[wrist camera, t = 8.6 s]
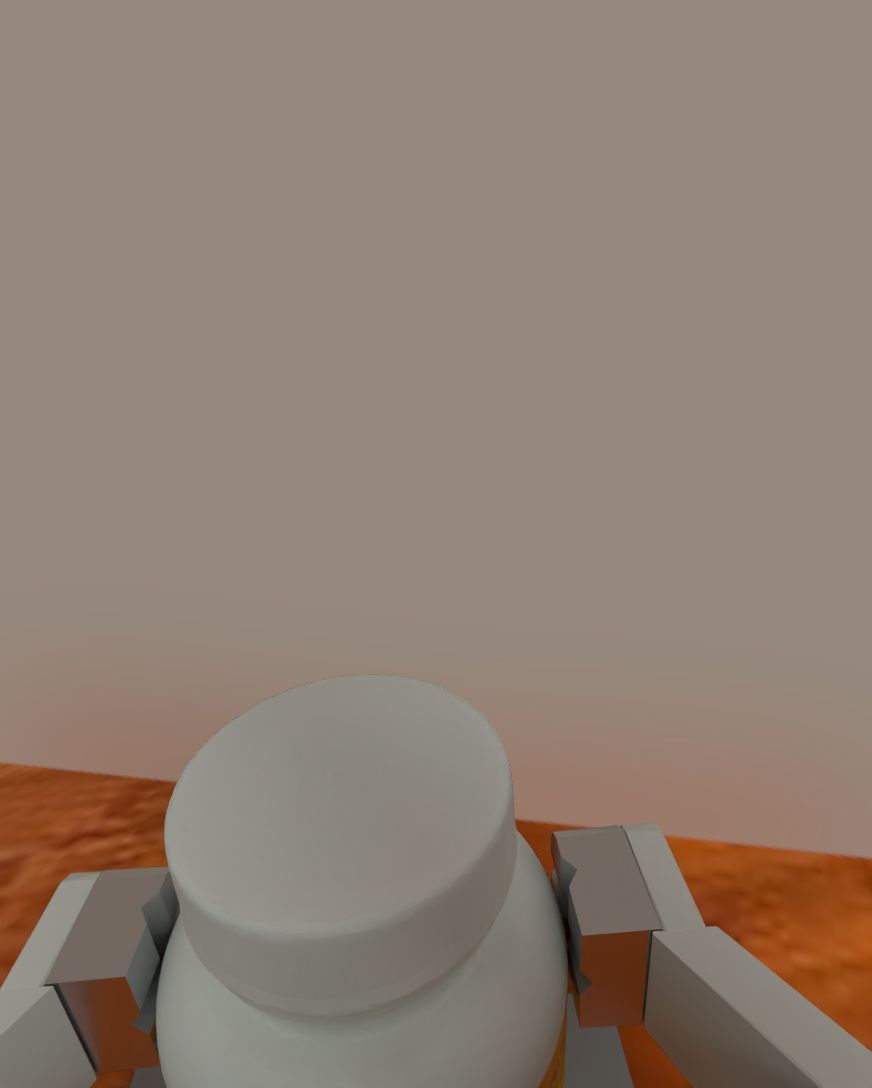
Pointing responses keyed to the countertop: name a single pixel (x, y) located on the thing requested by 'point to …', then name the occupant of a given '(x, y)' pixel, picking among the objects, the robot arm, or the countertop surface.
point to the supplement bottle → (358, 902)
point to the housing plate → (590, 1058)
